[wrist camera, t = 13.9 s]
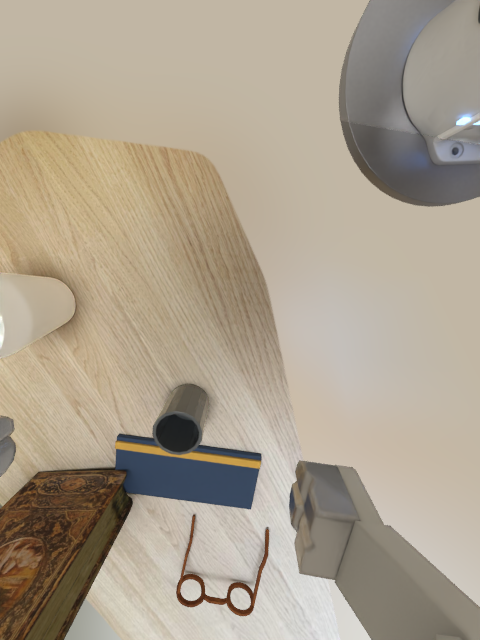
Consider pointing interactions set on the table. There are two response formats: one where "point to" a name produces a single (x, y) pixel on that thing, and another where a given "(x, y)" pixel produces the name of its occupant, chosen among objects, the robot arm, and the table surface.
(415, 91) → the robot arm
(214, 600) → the glasses
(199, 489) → the towel
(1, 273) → the cup
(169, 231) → the table surface
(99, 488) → the book
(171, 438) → the grey tumbler
